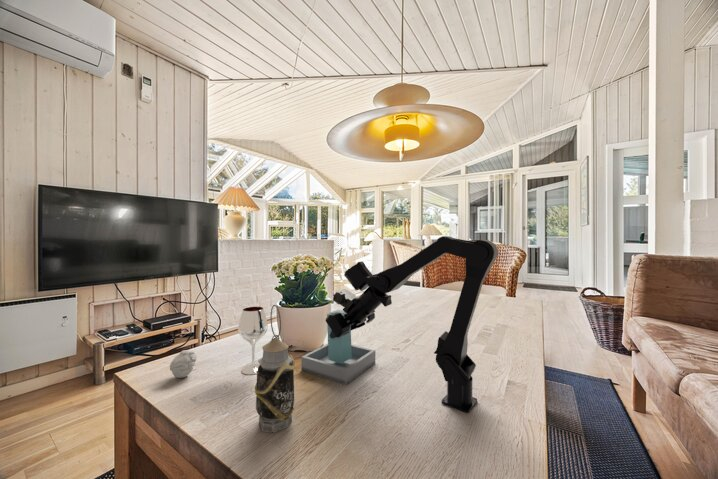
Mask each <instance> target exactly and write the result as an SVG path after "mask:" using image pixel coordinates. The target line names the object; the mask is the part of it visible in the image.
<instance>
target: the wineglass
mask: <svg viewBox="0 0 718 479" xmlns="http://www.w3.org/2000/svg"><path fill="white" fill-rule="evenodd" d="M268 327H269V326H268V319H267V316H266V313H265V309H264V307H262V306H248V307H245V308H243V309H242V312H241V314H240V319H239V323H238V328H237V331H238V334H239V335H240V337H241V338H242V339H243V340H245V341H246V342H248V344H250V346H251V364H249V365H248V364H247V365H246V366H243V368H241V373H242V374H243V375H247V376H248V375H257V370H258V367H259V366H260V364H259V363H256V362H255V361H256V360H255V359H256V358H255V357H256V356H255V355H256V354H255V352H256V351H255V350H256V349H255V348H256V347H255V346H256V344H257V343H258V342H259V341H260V340H261V339H262V338H263V337H264V336H265V334H267V332H268V330H269V329H268Z"/></svg>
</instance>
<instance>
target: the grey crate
mask: <svg viewBox="0 0 718 479" xmlns="http://www.w3.org/2000/svg"><path fill="white" fill-rule="evenodd" d="M351 352H352V357H351V358H350V359H348V360H347V361H345V362H344V363H338V362H334V361H331V360H329V359H328V343H326V344H325V345H322V346H320V347H319V348H316V349H314V350H312V351H310V352H308V353H306V354H304V355H302V356H301V365H300V367H301V371H302V372H305V373H307V374H311V375H315V376H317V377H321V378H324V379H327V380H329V381H331V382H336V383H338V384H341V385H344V386H347V385H349V384H350V383H351V382H353V381H354V380H355V379H356V378H358V377H359V376H360V375H362V374H363V373H365V372H366V371H367V370H368V369H370V368H371V367H373V365H375V364H376V350H375V349H371V348H367V347H362V346H359V345H354V344H351Z"/></svg>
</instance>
